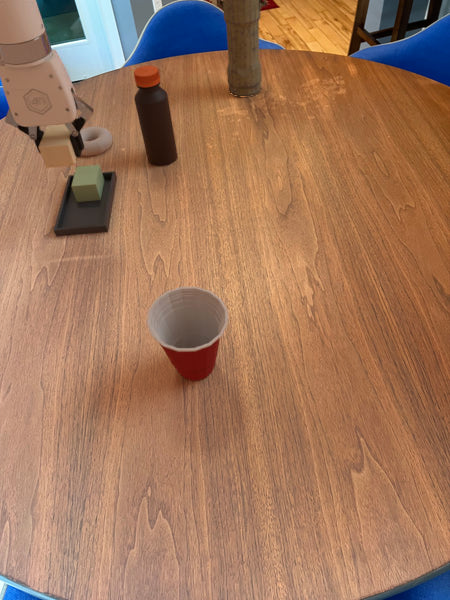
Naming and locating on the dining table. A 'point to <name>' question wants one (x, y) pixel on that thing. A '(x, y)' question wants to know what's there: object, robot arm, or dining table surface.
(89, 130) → the donut
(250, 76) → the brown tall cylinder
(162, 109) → the bottle
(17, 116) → the robot arm
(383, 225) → the dining table surface
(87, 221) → the tray
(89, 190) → the sage block
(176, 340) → the plastic cup
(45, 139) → the tan block
